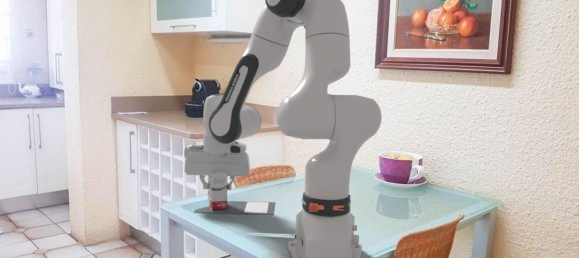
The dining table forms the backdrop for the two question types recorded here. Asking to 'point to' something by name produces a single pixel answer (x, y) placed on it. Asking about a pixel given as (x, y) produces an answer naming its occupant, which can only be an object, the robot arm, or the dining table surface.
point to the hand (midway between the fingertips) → (217, 189)
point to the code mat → (242, 208)
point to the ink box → (217, 190)
